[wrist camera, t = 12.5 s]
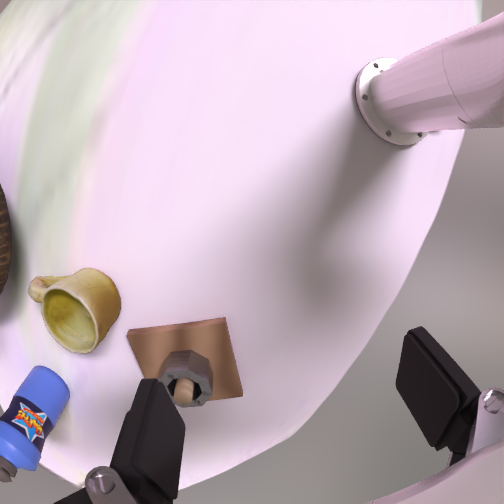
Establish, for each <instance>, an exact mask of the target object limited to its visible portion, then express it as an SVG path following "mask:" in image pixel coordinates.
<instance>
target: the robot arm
mask: <svg viewBox="0 0 504 504" xmlns="http://www.w3.org/2000/svg"><path fill="white" fill-rule="evenodd" d="M356 98H357V103H358V106H359V109H360V111H361V113H362V116H363V118H364V119H365V121H366V122H367V124H368V125H369V126H370V128H371V129H372V130H373V131H374V132H375V133H376V134H377V135H379V136H380V137H381V138H383V139H384V140H386V141H388V142H390V143H393V144H396V145H411V144H415V143H417V142H419V141H421V140H422V139H423V138H424V137H425V136H426V135H427V133H428V131H439V130H453V129H473V128H500V127H504V12H502V13H500V14H498V15H497V16H495V17H493V18H491V19H489V20H487V21H485V22H483V23H480V24H478V25H476V26H474V27H471V28H469V29H467V30H464V31H462V32H459V33H457V34H454V35H452V36H450V37H447V38H445V39H443V40H440V41H438V42H436V43H434V44H431V45H429V46H427V47H425V48H423V49H420V50H418V51H416V52H414V53H412V54H410V55H408V56H406V57H404V58H402V59H400V60H395V59H391V58H379V59H375V60H373V61H371V62H369V63H368V64H367V65H365V66H364V67H363V69H362V70H361V71H360V73H359V75H358V78H357V82H356ZM362 98H363V99H362ZM396 388H397V390H398V392H399V393H400V395H401V397H402V398H403V400H404V402H405V403H406V405H407V407H408V408H409V410H410V412H411V414H412V415H413V417H414V419H415V420H416V422H417V424H418V426H419V427H420V429H421V431H422V432H423V434H424V436H425V438H426V439H427V441H428V443H429V445H430V446H431V447H435V449H436V451H438V450H440V449H442V448H444V447H446V446H447V447H448V448H449V450H450V453H449V457H448V461H447V464H446V468H445V470H442V471H441V472H439V473H437V474H435V475H433V476H431V477H429V478H427V479H425V480H423V481H421V482H418V483H416V484H414V485H412V486H409V487H407V488H405V489H403V490H400V491H398V492H395V493H393V494H390V495H388V496H385V497H382V498H380V499H377V500H374V501H371V502H368V503H365V504H504V390H502V389H500V388H496V387H495V388H488V389H486V390H485V391H483V392H482V393H481V392H480V391H479V389H478V388H477V386H476V385H475V384H474V383H473V382H472V380H471V379H470V378H469V377H468V376H467V375H466V373H465V372H464V371H463V370H462V369H461V368H460V367H459V366H458V364H457V363H456V362H455V361H454V360H453V359H452V358H451V357H450V355H449V354H448V353H447V352H446V351H445V350H444V349H443V348H442V347H441V346H440V344H439V343H438V342H437V341H436V340H435V339H434V338H433V337H432V336H431V335H430V334H429V333H428V332H427V330H426V329H425V328H423V327H422V326H420V327H417V328H414V329H411V330H409V331H408V332H407V335H405V336H404V341H403V347H402V353H401V358H400V363H399V369H398V373H397V378H396ZM184 437H185V424H184V422H183V420H182V418H181V416H180V414H179V413H178V411H177V409H176V407H175V405H174V403H173V402H172V400H171V398H170V396H169V394H168V392H167V390H166V388H165V386H164V384H163V382H159V381H158V379H156V378H149V379H141V381H140V384H139V386H138V389H137V392H136V395H135V398H134V401H133V404H132V407H131V410H130V411H128V412H127V414H126V416H125V419H124V422H123V425H122V428H121V431H120V434H119V437H118V441H117V444H116V447H115V450H114V453H113V457H112V460H111V463H110V467H107V466H99V467H96V468H94V469H92V470H91V471H90V472H89V473H88V474H87V476H86V478H85V487H84V488H83V489H81V490H79V491H77V492H75V493H73V494H71V495H69V496H67V497H65V498H63V499H61V500H59V501H57V502H55V503H54V504H173V499H176V498H177V495H178V486H179V477H180V468H181V460H182V452H183V444H184Z"/></svg>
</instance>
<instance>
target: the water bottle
mask: <svg viewBox="0 0 504 504" xmlns="http://www.w3.org/2000/svg"><path fill="white" fill-rule="evenodd" d="M69 397H70V392H69V389H68V387H67V385H66V383H65V382H64V381H63V379H62V378H61V377H60V376H59V375H57V374H56V373H55V372H54V371H52V370H50V369H49V368H46V367H44V366H35V367H34V368H33V369H32V371H31V372H30V373H29V375H28V376H27V377H26V379H25V380H24V382H23V383H22V384H21V386H20V387H19V389H18V390H17V392H16V393H15V395H14V396H13V399H12V401H11V403H10V406H9V408H8V409H7V410H6V412H5V413H4V414H3V415H2V416H1V417H0V481H2V482H11V478H10V476H11V477H15V476H16V473H17V469H18V468H22V469H26V470H29V471H35V470H36V468H37V466H38V463H39V461H40V459H41V452H42V449H43V446H44V442H45V439H46V437H47V436H48V435H49V433H50V432H51V431H52V429H53V428H54V426H55V424H56V422H57V420H58V418H59V416H60V414H61V412H62V410H63V408H64V406H65V405H66V403H67V401H68V399H69Z"/></svg>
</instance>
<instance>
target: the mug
mask: <svg viewBox="0 0 504 504" xmlns="http://www.w3.org/2000/svg"><path fill="white" fill-rule="evenodd" d="M28 293H29V295H30V297H31V298H32V299H33V300H34V301H35V302H38V303H42V304H41V306H42V308H41V312H42V316H43V320H44V323H45V326H46V328H47V329H48V331H49V333H50V334H51V335H52V337H53V338H54V339H55V340H56V341H57V342H58V343H59V344H60V345H61V346H62V347H64V348H65V349H67V350H69V351H71V352H74V353H77V352H78V353H83V354H85V353H89V352H91V351H92V350H93V349H95V348H96V347H97V346H98V344H99V343H100V342H101V341H102V340H103V339H104V337H105V335H106V334H107V332H108V331H109V328H110V327H111V326H112V324H113V323H114V322H115V321H116V319H117V318H118V316H119V313H120V309H121V298H120V295H119V292H118V290H117V288H116V285H115V284H114V282H113V281H112V279H111V278H110V277H108V276H107V275H105V274H104V273H102V272H101V271H99V270H96V269H92V268H84V269H81V270H79V271H77V272H76V273H74V274H73V275H71V276H64V277H53V276H45V277H41V276H40V277H35V278H34V279H33V280H32V281H31V283H30V286H29V290H28Z"/></svg>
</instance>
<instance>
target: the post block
mask: <svg viewBox="0 0 504 504" xmlns="http://www.w3.org/2000/svg"><path fill="white" fill-rule="evenodd" d="M127 337H128V340H129V342H130V345H131V347H132V350H133V352H134V354H135V357H136V359H137V361H138V363H139V366H140V368H141V370H142V372H143V374H144V376H145V378H146V379H149V378H156V379H158V376H159V373H160V369H161V365H162V363H163V362H164V360H165V359H166V358H167V356H168V355H169V354H170V352H173V351H182V350H193V351H195V352H196V353H198V354H200V355H202V356H204V357H206V358H208V359H209V361H210V365H211V368H212V371H213V395H212V396H211V397H210V398H209V399H208V400H207V401H210V400H219V399H227V398H235V397H242V396H243V390H242V386H241V382H240V378H239V374H238V370H237V366H236V362H235V358H234V353H233V349H232V345H231V340H230V336H229V332H228V327H227V323H226V318H225V317H224V318H217V319H210V320H204V321H197V322H189V323H182V324H174V325H166V326H158V327H149V328H140V329H130V330H129V331H128V333H127ZM193 387H194V381H192V380H190V379H188V378H177V381H176V386H175V392H174V400H175V401H176V402H177V403H179V404H183V405H187V404H190V403H191V402H192V397H193Z"/></svg>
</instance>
